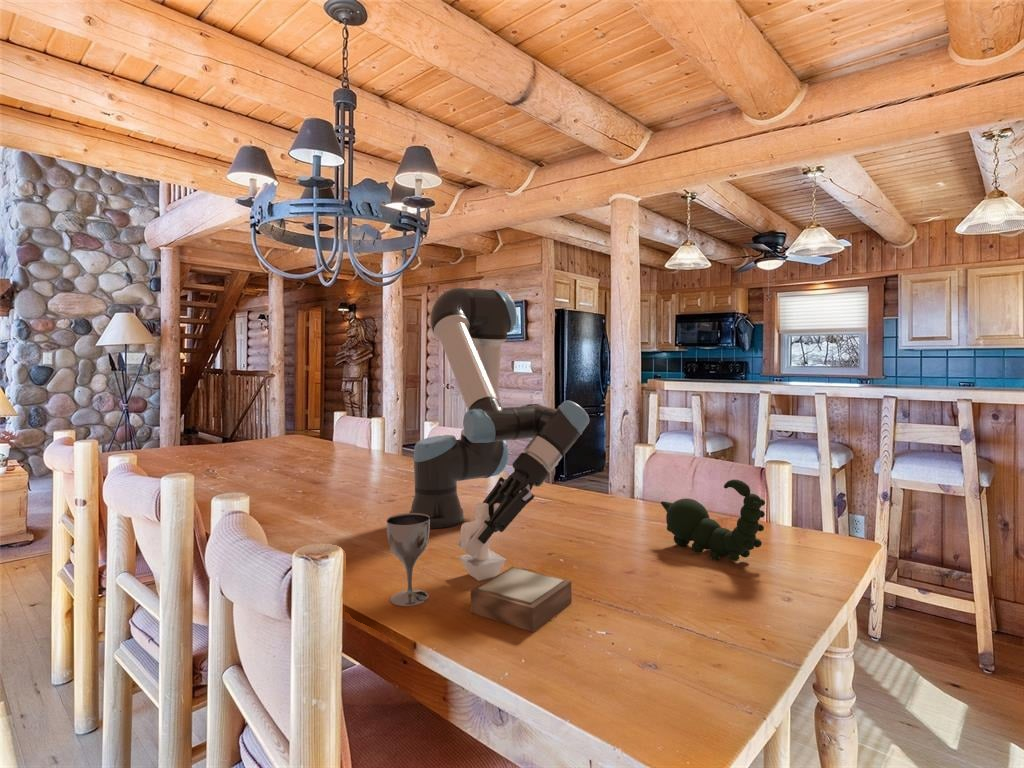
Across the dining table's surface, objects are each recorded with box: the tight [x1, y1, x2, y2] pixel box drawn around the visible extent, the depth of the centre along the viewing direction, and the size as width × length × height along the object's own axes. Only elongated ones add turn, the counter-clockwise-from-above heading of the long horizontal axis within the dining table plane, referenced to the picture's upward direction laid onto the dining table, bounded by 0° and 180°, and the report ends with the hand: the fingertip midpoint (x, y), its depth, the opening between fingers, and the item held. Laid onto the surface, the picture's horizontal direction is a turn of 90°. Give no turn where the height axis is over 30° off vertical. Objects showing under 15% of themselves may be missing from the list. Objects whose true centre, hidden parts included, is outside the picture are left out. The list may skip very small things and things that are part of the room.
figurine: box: [458, 502, 507, 582], centre depth 112 cm, size 7×9×15 cm
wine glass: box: [386, 512, 431, 607], centre depth 102 cm, size 8×8×15 cm
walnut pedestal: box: [470, 566, 573, 633], centre depth 97 cm, size 13×13×4 cm
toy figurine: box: [660, 479, 766, 562], centre depth 124 cm, size 10×19×26 cm
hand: (465, 550), depth 111 cm, fingers closed on figurine, 3 cm apart
